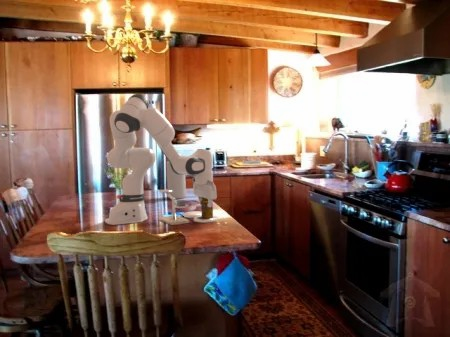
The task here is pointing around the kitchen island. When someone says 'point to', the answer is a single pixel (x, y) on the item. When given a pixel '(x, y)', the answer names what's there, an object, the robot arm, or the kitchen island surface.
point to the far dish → (192, 214)
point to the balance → (174, 219)
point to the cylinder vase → (175, 183)
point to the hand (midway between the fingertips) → (205, 205)
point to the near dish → (206, 220)
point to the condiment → (206, 210)
